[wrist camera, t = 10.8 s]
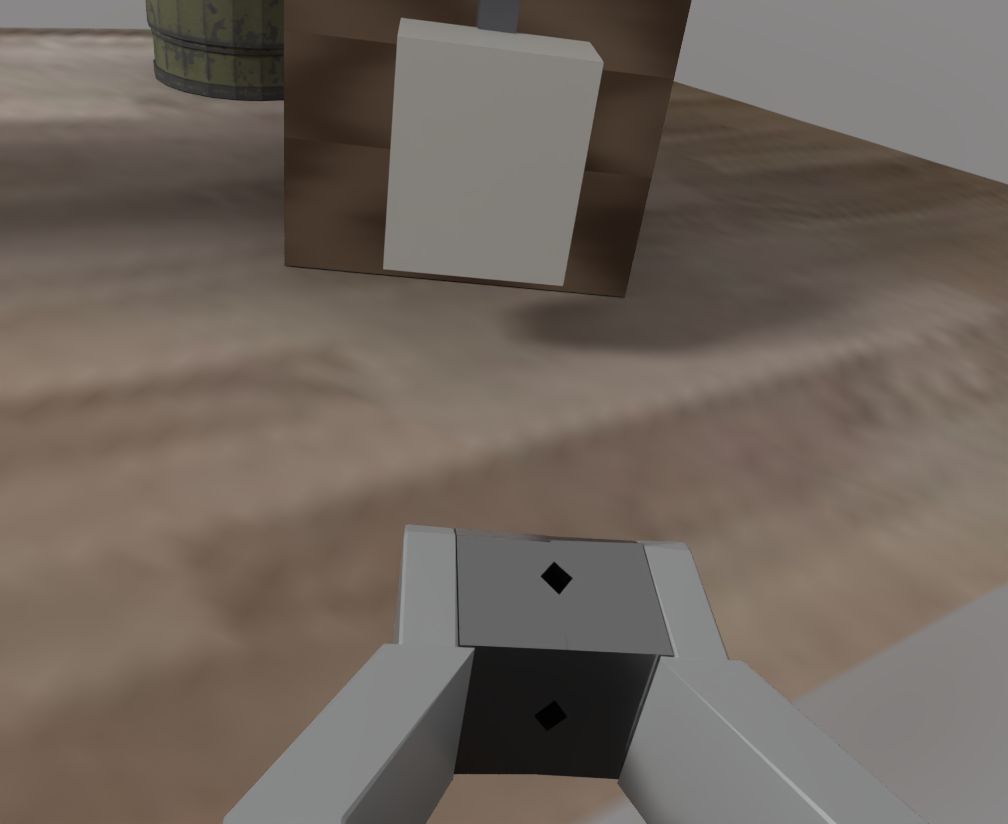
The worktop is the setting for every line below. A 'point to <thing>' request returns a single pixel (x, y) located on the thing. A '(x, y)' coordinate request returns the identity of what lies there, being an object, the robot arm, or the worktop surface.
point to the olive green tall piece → (219, 47)
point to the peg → (487, 148)
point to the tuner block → (369, 109)
